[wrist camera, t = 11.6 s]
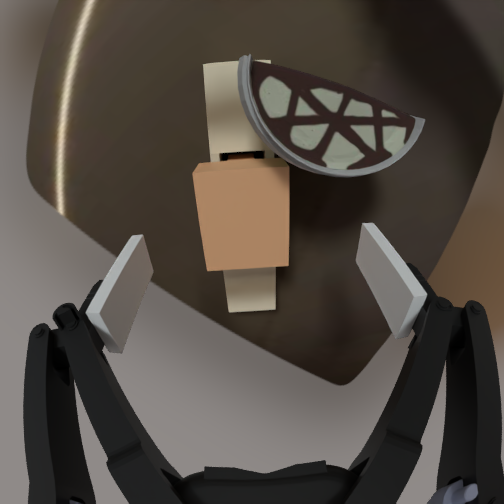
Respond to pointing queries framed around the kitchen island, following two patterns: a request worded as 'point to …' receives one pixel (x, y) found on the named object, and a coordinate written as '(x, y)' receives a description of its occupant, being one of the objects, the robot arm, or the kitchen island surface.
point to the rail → (222, 141)
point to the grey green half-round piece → (322, 121)
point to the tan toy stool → (243, 212)
